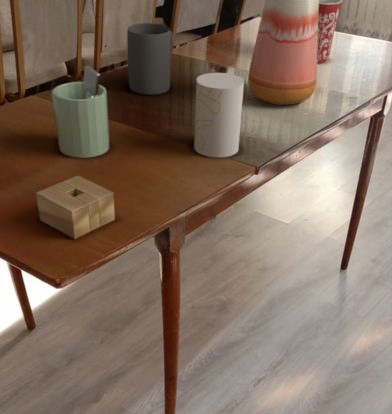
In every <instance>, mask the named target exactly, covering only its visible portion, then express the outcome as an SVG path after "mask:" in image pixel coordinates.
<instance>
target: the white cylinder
mask: <svg viewBox="0 0 392 414" xmlns="http://www.w3.org/2000/svg"><path fill="white" fill-rule="evenodd" d="M244 84H245V81H244V78H242V77H240V76H238V75H237V74H236V75H235V74H231V73H226V72H208V73H204V74H201V75H199V76H197V78H196V83H195V85H196V86H195V111H194V112H195V113H194V114H195V115H194V117H195V118H194V140H193V141H194V142H193V144H194V145H193V149H194V151H195V152H197V153H198V154H199V155H203V156H206V157H209V158H228V157H231V156H234V155H236V154H237V153H238V152H239V146H240V134H241V121H242V109H243V97H244V88H245V87H244V86H245V85H244Z"/></svg>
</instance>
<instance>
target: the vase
mask: <svg viewBox="0 0 392 414" xmlns="http://www.w3.org/2000/svg"><path fill="white" fill-rule="evenodd" d="M318 15H319V0H264V5H263V9H262V12H261V17H260V21H259V26H258V30H257V34H256V37H255V38H256V39H255V43H254V48H253V52H252V55H251V61H250V65H249V70H248V76H247V87H248V90H249V92H250V93H251V94H252V95H253V96H254V97H255V98H257V99H258V100H260V101H263V102H265V103H267V104H272V105H280V106H289V105H296V104H299V103H302V102H304V101H306V100H308V99H309V98H310V97H311V96H312V95H313V94H314V92H315V90H316V85H317V77H318V76H317V73H318V63H317V47H318Z"/></svg>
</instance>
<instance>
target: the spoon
mask: <svg viewBox="0 0 392 414" xmlns="http://www.w3.org/2000/svg"><path fill="white" fill-rule="evenodd" d="M100 78H101V74H100V72H98V71H97V70H96V69H94V68H92V67H91V66H90V65H85V66H84V71H83V81H82V82H83V89H84V90H85V91H87V93H86V99H89V98H93V97H97V96H98V88H99V85H100Z"/></svg>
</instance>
